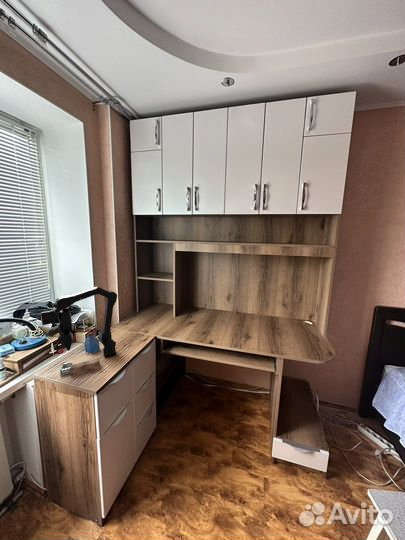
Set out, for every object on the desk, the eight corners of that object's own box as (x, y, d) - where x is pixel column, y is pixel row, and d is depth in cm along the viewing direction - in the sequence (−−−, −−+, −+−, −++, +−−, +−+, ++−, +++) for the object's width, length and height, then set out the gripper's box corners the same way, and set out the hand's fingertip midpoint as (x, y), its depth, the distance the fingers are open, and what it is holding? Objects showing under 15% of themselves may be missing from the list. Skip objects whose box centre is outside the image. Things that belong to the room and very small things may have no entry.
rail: (100, 365, 127) (99, 358, 126) (100, 369, 123) (99, 361, 123) (71, 372, 121) (70, 365, 120) (70, 376, 117) (69, 368, 117)
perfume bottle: (85, 351, 144) (83, 334, 142) (94, 347, 149) (92, 330, 148) (91, 354, 141) (88, 335, 139) (100, 349, 146) (97, 332, 144)
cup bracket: (72, 366, 127) (72, 361, 127) (71, 373, 120) (70, 367, 120) (62, 368, 125) (61, 363, 125) (60, 376, 118) (59, 370, 118)
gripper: (51, 317, 127) (56, 343, 129) (43, 329, 110) (48, 358, 112) (73, 313, 131) (78, 339, 133) (69, 324, 114) (74, 352, 116)
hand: (69, 346), depth 124 cm, fingers open, 9 cm apart
